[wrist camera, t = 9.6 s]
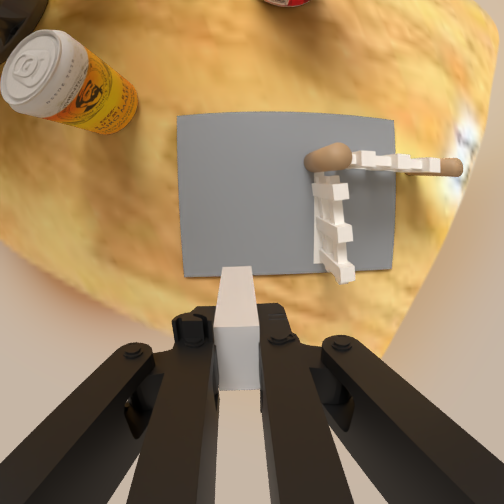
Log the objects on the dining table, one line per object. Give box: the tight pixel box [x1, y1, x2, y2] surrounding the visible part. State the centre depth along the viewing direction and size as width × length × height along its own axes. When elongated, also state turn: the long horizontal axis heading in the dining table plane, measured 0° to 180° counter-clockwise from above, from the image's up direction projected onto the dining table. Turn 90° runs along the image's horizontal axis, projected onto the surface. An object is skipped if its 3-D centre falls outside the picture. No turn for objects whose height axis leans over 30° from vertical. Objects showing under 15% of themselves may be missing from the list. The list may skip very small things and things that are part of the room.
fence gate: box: [311, 175, 355, 285], centre depth 26 cm, size 9×1×7 cm, turn 8°
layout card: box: [177, 112, 396, 277], centre depth 29 cm, size 22×16×1 cm
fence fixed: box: [304, 142, 463, 177], centre depth 24 cm, size 13×2×8 cm, turn 91°
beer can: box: [0, 29, 138, 134], centre depth 19 cm, size 6×6×15 cm
